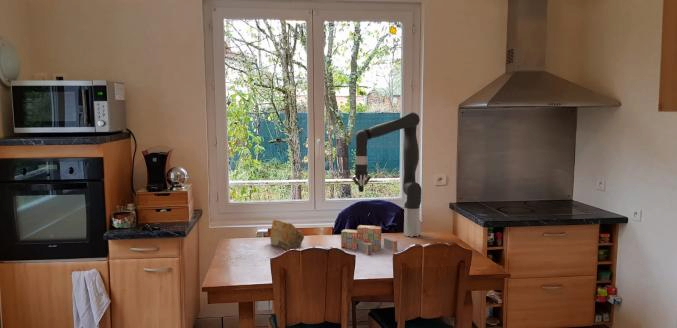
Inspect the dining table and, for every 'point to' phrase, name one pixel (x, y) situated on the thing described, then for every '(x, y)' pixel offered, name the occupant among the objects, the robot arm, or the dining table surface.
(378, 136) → the robot arm
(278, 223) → the rough brown rock
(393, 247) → the spaced upright blocks
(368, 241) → the stack of blocks
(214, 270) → the dining table surface
